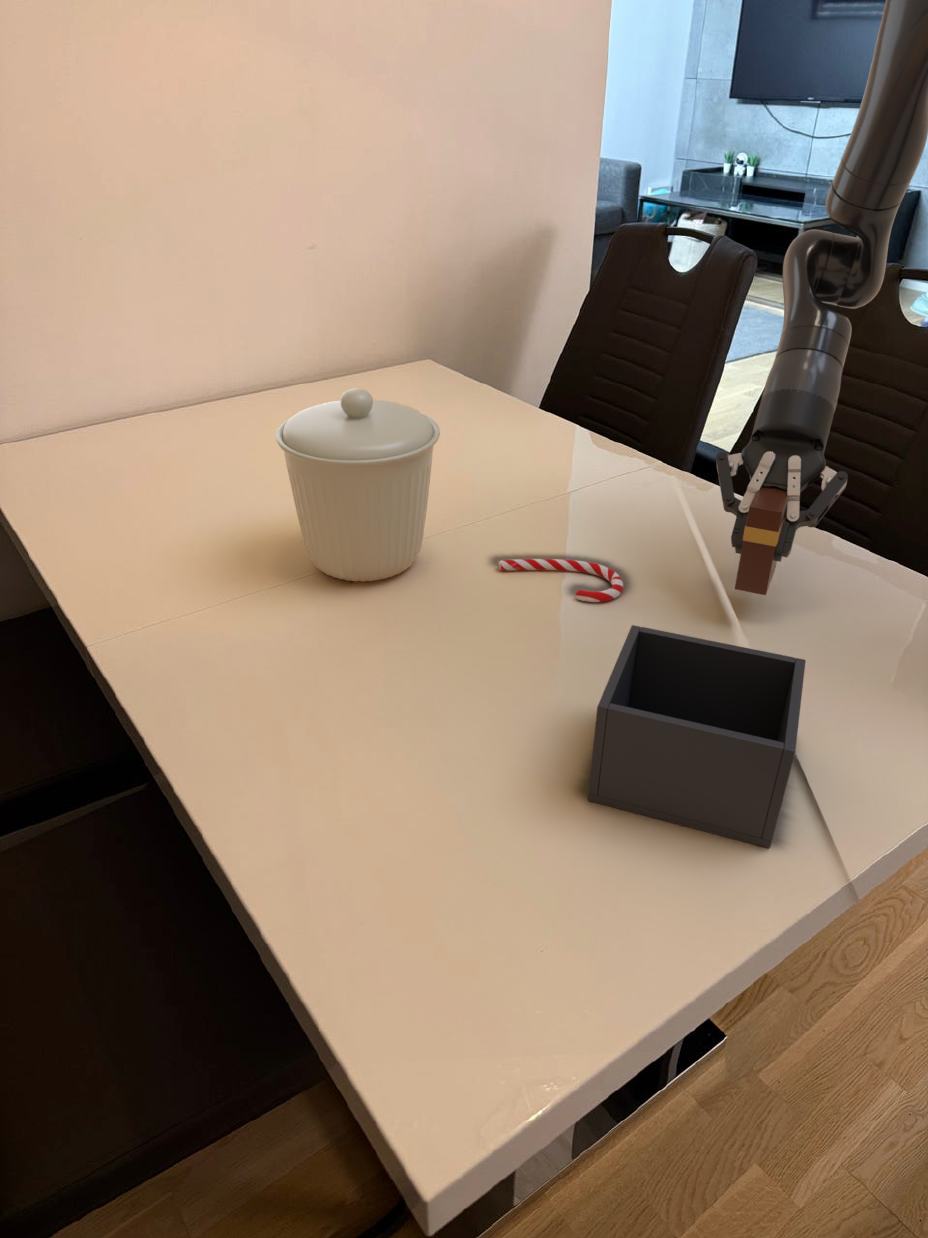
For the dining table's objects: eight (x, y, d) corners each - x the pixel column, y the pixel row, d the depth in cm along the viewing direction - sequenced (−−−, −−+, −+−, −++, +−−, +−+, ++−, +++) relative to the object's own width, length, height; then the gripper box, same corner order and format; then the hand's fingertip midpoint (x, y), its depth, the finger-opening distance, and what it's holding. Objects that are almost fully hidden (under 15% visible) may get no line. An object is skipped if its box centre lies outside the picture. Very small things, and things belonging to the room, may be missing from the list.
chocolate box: (775, 570, 99) (791, 489, 94) (766, 596, 95) (782, 512, 90) (744, 564, 101) (759, 484, 96) (733, 589, 96) (748, 506, 91)
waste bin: (782, 750, 81) (805, 659, 76) (769, 848, 71) (795, 751, 66) (620, 713, 85) (631, 624, 80) (586, 800, 75) (597, 706, 70)
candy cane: (505, 547, 111) (629, 566, 107) (504, 557, 111) (628, 575, 108) (487, 577, 104) (618, 598, 101) (487, 587, 105) (617, 608, 101)
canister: (442, 598, 103) (442, 417, 92) (280, 601, 102) (260, 418, 91) (437, 526, 118) (437, 364, 107) (296, 528, 117) (281, 365, 106)
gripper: (729, 377, 96) (687, 529, 93) (872, 396, 91) (832, 557, 88) (731, 411, 103) (692, 553, 100) (864, 430, 98) (827, 580, 95)
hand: (758, 554), depth 94 cm, fingers closed on chocolate box, 3 cm apart
